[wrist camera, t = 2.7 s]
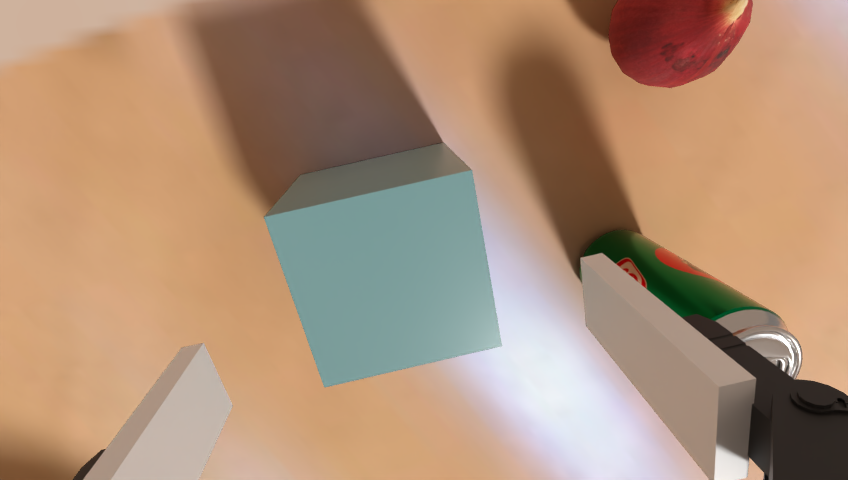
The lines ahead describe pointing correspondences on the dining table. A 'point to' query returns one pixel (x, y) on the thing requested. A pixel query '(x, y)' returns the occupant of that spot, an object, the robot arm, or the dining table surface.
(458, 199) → the seafoam cube
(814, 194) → the dining table surface
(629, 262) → the soda can
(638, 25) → the pomegranate
